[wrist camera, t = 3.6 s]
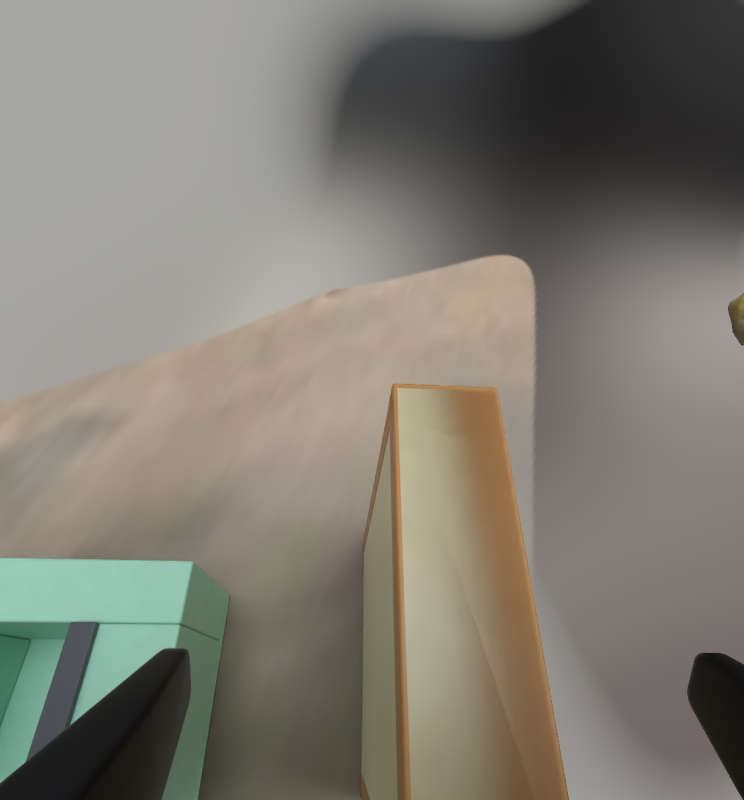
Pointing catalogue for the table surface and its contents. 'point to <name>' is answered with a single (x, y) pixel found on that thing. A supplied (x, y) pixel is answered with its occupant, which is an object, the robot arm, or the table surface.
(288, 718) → the table surface
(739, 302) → the pastry
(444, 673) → the toast
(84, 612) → the toaster
